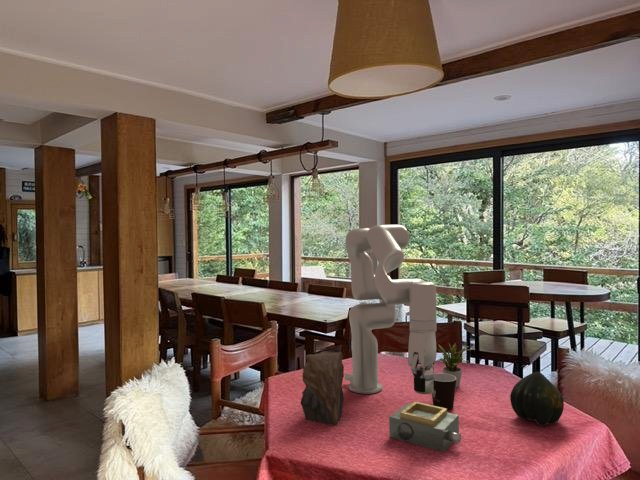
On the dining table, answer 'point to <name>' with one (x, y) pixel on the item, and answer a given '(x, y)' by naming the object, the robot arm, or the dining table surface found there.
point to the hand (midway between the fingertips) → (424, 387)
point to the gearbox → (425, 426)
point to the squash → (537, 399)
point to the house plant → (453, 362)
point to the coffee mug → (444, 390)
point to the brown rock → (323, 387)
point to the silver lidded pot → (427, 380)
